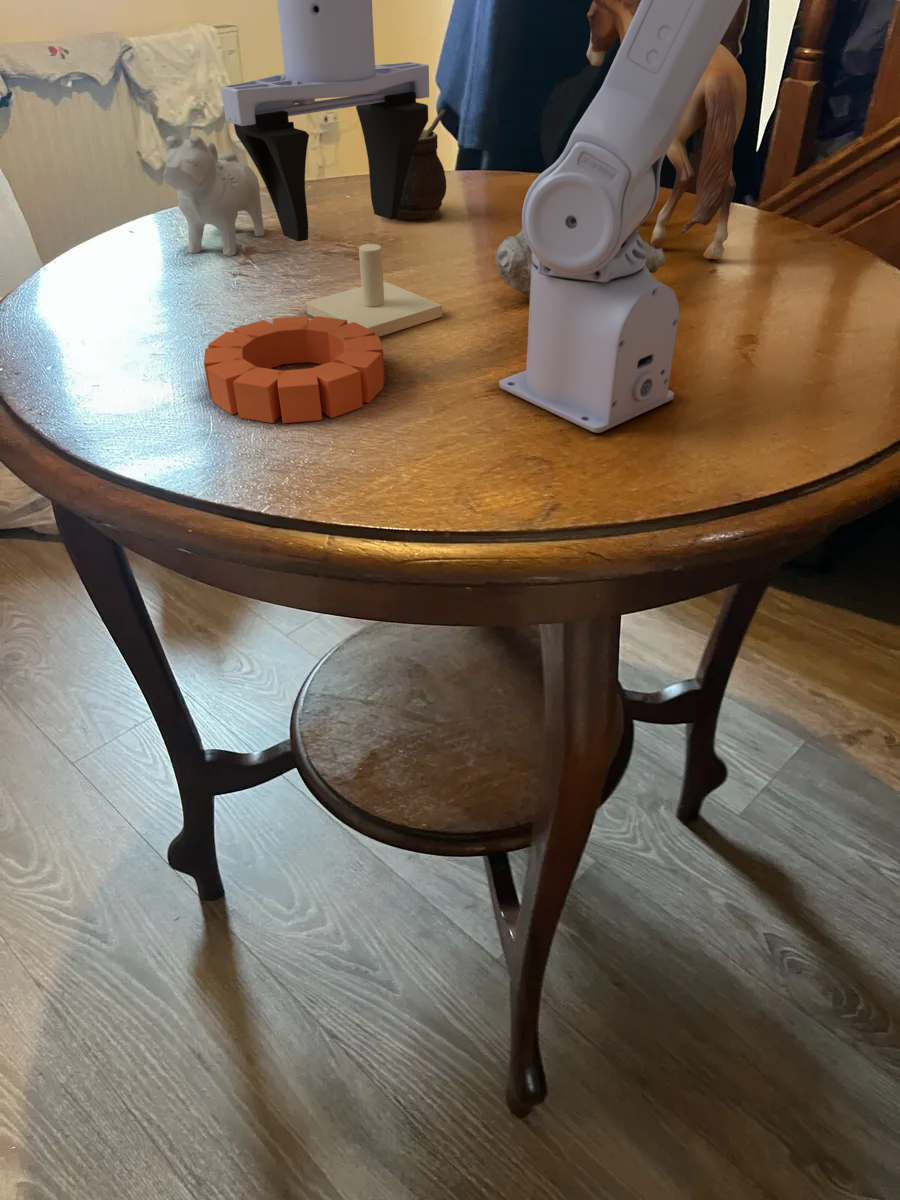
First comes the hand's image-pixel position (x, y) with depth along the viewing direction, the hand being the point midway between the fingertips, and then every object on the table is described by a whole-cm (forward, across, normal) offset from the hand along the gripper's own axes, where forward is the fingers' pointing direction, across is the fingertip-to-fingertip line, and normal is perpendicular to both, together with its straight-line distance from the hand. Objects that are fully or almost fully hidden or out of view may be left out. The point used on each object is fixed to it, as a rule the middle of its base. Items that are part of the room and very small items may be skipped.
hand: (342, 226), depth 62 cm
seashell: (+10, -22, +3) cm, 24 cm away
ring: (+9, +6, +2) cm, 11 cm away
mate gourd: (+9, -27, -26) cm, 39 cm away
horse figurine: (+10, -38, -6) cm, 40 cm away
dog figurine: (+9, -6, -30) cm, 32 cm away
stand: (+9, -6, -5) cm, 12 cm away
